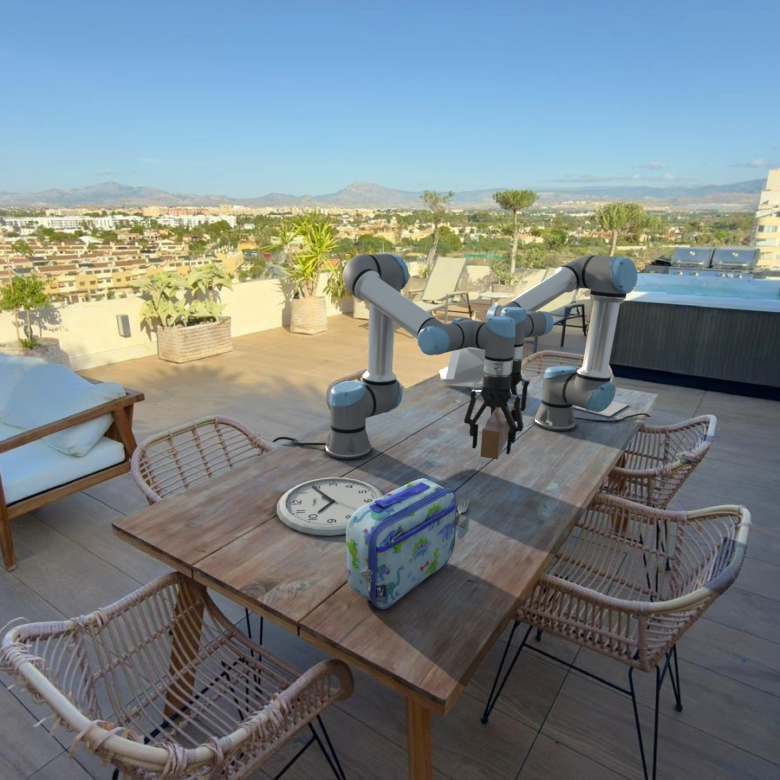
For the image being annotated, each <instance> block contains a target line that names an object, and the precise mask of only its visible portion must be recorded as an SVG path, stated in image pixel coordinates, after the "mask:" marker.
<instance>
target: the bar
mask: <svg viewBox="0 0 780 780" xmlns="http://www.w3.org/2000/svg"><path fill="white" fill-rule="evenodd" d="M507 404H508V408H509V410H510V412H511V415H512V412H513V410H515V409H514V403H509V402H507ZM509 430H510V427H509V425H508V422H507V420H506V418H505V415H504V413H503V411H502V410H501V407H500V408H498V407H496V409H495V410H494V412H493V413H492V415H491V414H490V416H489V418H488V419H487V421H486V423H485V424H484V425H483V427H482V429H481V443H480V456H479V457H481V458H486V459H491V460H499V457H500V456H501V453H502V451H503V449H504V447H505V445H506V444H507V440H508V432H509Z"/></svg>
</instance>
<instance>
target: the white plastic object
mask: <svg viewBox="0 0 780 780" xmlns="http://www.w3.org/2000/svg"><path fill="white" fill-rule="evenodd" d="M484 361H485V350H482V349H477V348H472V347H468V348H464V349H460V350H455V351H451V353H450V357H449V362H448V366H446V367H444V368H442V369H440V370H439V371H438V372H439V376H440V381H442V383H443V384H444V385H445V386H449V385H458V384H467V383H468V384H469V383H473V384H477V383H480V382H483V375H484V374H485V372H484ZM522 368H523V367H521V375H522V378H524V379H526V378H525V375H524V371H523V369H522ZM519 383H520V385H521V389H522V390H523V386H522V382H521V381H520V382H519ZM510 392H511V389H510ZM511 394H512V392H511ZM528 396H531V395H530V390H529V388H527V397H528Z"/></svg>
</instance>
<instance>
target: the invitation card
mask: <svg viewBox="0 0 780 780" xmlns="http://www.w3.org/2000/svg"><path fill="white" fill-rule="evenodd" d="M628 406H629V404H627V403H623V402H618V401H614V400H613V401H612V402H611V404H610V405H609V406H608V407H607V408H606V409H605V410H603V411H601V412H594V411H588V410H586V409H584V408H581V407H578V406H574V407H573V409H575V410H581V411H584V412H587V413H593V414H596V415H600V416H604V417H608V418H609V417H611V416H613V415H614V414H616V413H617V412H619V411H621V410H623V409H624V408H626V407H628Z"/></svg>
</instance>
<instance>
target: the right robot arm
mask: <svg viewBox="0 0 780 780" xmlns="http://www.w3.org/2000/svg"><path fill="white" fill-rule="evenodd" d="M637 282H638V269H637V266H636V264H635V262H634V261H633V260H632V259H630V258H628V257H624V256H614V255H595V254H588V255H584V256H580V257H577V258H575V259H573V260H571V261H568V262H566V263H565V264H563V265H561V266H559V267H558V268H557V269H556V270H555V271H554V273H553V274H552V275H550V276H549V277H547V278H545V279H544V280H543V281H541V282H539V283H537V284H536V285H534V286H533V287H531V288H529V289H528V290H526V291H525V292H523V293H521V294H520V295H518V296H517V297H515V298H514V299H512V300H511V301H508V302H507V303H505V304H504V305H501V304H496V305H495V304H494V305H492V306H491V307H489V309H488V310H487V312H486V317H485V318H486V321H487V320H488V318H489V317H492V316H503V317H510V318H513V319H514V320H515V334H516V336H515V341H514V349H513V364H512V373H511V374H510V375H511V386H510V389H511V392H512V395H518V389H517V385H518V384H519V383H521V382H522V386H523V389H522V391H521V401H520V406H521V412H525V411H526V408H527V401H528V400H527V399H528V396H527V388H528V387H529V385H530V383H531V380H530V379H529V378H527V379H526V378H525V377H524V378H525V379H524V378H522V375H521V368H522V365H523V360H522V359H523V355H524V354H523V353H524V343H525V339H527V338H533V337H542V336H544V335H548V334H550V333H551V332H552V330H553V327H554V323H555V321H554V317H553V316H552V314H551V312H548V311H546V310H540V309H542V308H544V307H545V306H546V305H548V304H550V303H551V302H553V301H554V300H556V299H557V298H559V297H561V296H562V295H564V294H565V293H572V292H574V291H575V290H577V289H587V290H590V292H589V296H590V297H591V299H592V301H593V302H592V307H591V314H590V319H589V325H588V331H587V337H586V343H585V348H584V355H583V360H582V366H581V367H580V368H579V369H578V368H577V367H575V366H571V365H570V366H569V365H557V366H556V365H555V366H550V367H547V368H546V369H545V371H544V375H543V378H542V379H543V381H542V394H541V402H540V405H539V407H538V410H537V411H536V413H535V416H534V424H535V425H536V426H537V427H539V428H542V429H544V430H549V431H556V432H567V431H572V430H574V429H575V428H576V420H580V421H587V422H588V421H589V422H600V423H618V422H622V421H624V420H626V419H629V418H634V417H638V416H641V415H642V416H646V417H648V418H651V415H650V414H648V413H645V412H639V413H635V414H631V415H627V416H624V417H623V418H619V419H613V420H611V419H610V420H609V419H608V420H607V419H593V418H584V417H576V416H575V413H574V407H576V406H578V407H581V408H584V409H586V410H588V411H594V412H601V411H603V410H605V409H606V408H607V407H608V406H609V405H610V404H611V402H612V401H614V398H615V396H616V392H617V391H616V390H617V388H616V385H615V383H613V382H612V381H611V379H612V374H611V373H610V372H609V364H610V360H611V355H612V350H613V343H614V338H615V333H616V327H617V321H618V316H619V310H620V305H621V303H622V302H623V301H625V300H626V298H627V294H630V293H632V292H633V291H634V290H635V287H636V286H637V284H638V283H637ZM520 381H521V382H520ZM522 386H521V387H522ZM528 389H529V388H528ZM513 404H515V403H513ZM573 406H574V407H573ZM487 407H488V408H490V416H491V415H492V413H493V412H494V410H495V409H496V407H495V406H492V407H491V406H489V405H487ZM487 407H486V408H487ZM588 411H587V412H588ZM512 417H513V420H514V422H515V423H517V421H516V414H515V407H514V410H513V412H512Z"/></svg>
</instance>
